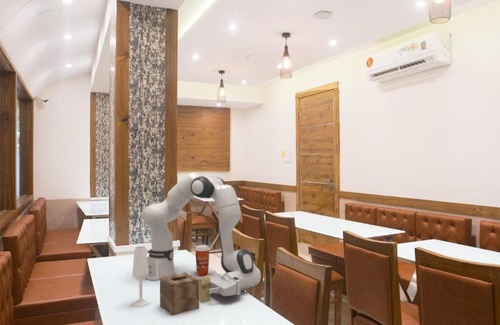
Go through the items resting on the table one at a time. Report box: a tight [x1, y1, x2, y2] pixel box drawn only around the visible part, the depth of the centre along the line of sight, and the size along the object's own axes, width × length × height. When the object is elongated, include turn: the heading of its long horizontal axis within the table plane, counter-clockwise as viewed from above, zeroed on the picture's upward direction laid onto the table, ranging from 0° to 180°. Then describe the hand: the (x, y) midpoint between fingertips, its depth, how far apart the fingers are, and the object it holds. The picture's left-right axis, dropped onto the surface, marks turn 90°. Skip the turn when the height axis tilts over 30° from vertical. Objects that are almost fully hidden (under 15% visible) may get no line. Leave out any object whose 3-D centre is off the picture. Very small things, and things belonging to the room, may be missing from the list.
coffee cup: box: [194, 244, 211, 277], centre depth 203 cm, size 8×8×15 cm
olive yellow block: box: [198, 275, 212, 303], centre depth 164 cm, size 4×2×10 cm, turn 126°
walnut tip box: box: [159, 272, 200, 316], centre depth 157 cm, size 12×12×12 cm
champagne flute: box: [132, 245, 150, 307], centre depth 162 cm, size 7×7×24 cm
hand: (203, 288), depth 164 cm, fingers open, 8 cm apart
